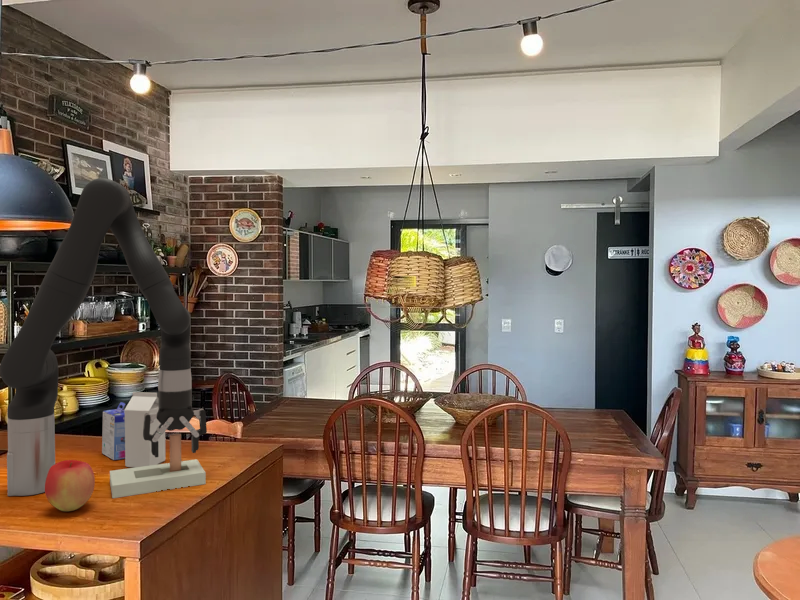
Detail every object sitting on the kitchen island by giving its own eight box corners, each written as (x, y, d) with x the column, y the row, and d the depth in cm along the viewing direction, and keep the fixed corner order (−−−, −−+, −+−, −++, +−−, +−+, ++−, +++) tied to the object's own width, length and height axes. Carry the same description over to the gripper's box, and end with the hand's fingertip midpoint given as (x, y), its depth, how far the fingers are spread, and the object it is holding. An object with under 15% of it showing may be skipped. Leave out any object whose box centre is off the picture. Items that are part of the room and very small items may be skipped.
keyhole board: (112, 498, 133) (112, 485, 133) (110, 482, 143) (109, 470, 143) (205, 484, 142) (205, 472, 142) (196, 470, 153) (196, 459, 153)
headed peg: (166, 484, 142) (166, 438, 141) (164, 479, 146) (164, 434, 145) (187, 482, 144) (186, 436, 143) (184, 476, 148) (183, 431, 147)
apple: (33, 516, 122) (32, 468, 122) (65, 500, 132) (64, 455, 131) (76, 519, 121) (75, 470, 121) (106, 502, 130) (105, 456, 130)
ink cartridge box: (135, 457, 164) (134, 404, 164) (114, 461, 160) (113, 407, 160) (122, 450, 171) (121, 399, 171) (101, 454, 168) (100, 402, 167)
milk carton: (149, 468, 154) (148, 395, 153) (125, 467, 155) (124, 394, 155) (165, 460, 161) (164, 390, 160) (142, 459, 162) (141, 389, 162)
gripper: (144, 392, 138) (145, 462, 138) (208, 387, 144) (208, 454, 145) (141, 387, 144) (142, 454, 145) (202, 383, 151) (203, 447, 151)
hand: (175, 454), depth 145 cm, fingers open, 8 cm apart
